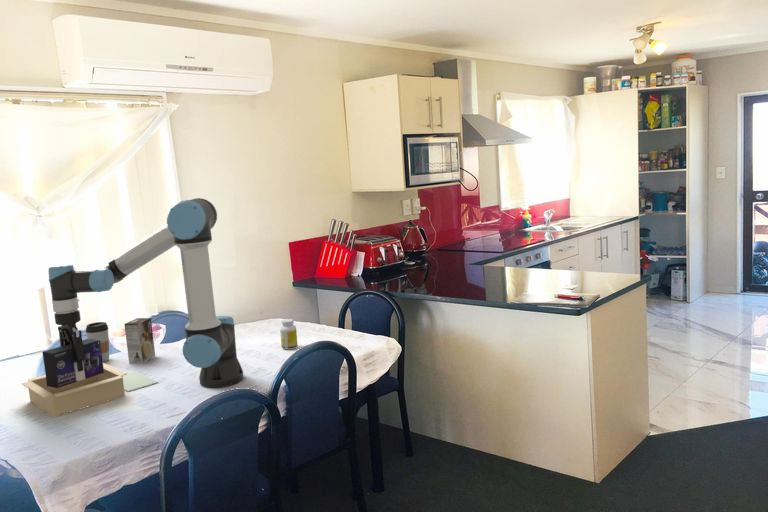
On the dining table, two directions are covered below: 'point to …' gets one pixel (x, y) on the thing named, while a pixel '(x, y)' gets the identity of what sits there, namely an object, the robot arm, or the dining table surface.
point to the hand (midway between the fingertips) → (76, 377)
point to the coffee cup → (100, 337)
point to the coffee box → (139, 340)
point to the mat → (136, 381)
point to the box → (71, 363)
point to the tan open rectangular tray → (76, 391)
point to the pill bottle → (288, 334)
